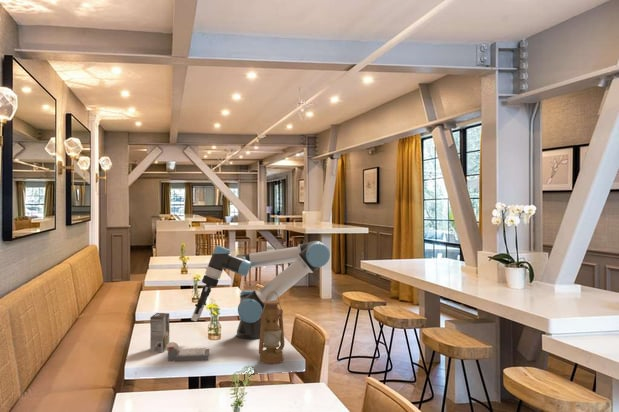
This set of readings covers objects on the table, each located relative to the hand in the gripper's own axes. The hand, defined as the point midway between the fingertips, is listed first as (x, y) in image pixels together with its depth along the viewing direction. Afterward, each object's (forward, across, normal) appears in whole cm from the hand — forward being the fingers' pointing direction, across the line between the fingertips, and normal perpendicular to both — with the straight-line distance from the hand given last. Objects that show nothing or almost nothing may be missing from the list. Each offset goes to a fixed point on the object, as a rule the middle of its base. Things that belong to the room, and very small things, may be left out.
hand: (195, 319), depth 242 cm
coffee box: (+18, +4, -10) cm, 21 cm away
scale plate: (+11, +19, +5) cm, 23 cm away
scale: (+14, +19, +4) cm, 24 cm away
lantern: (+2, +26, +39) cm, 47 cm away
